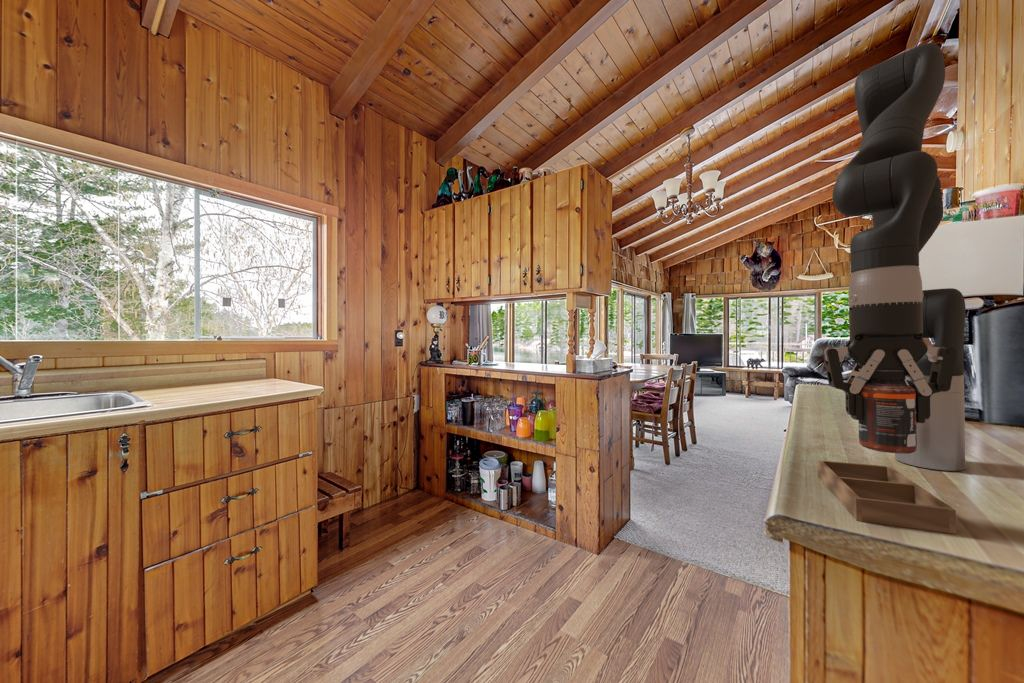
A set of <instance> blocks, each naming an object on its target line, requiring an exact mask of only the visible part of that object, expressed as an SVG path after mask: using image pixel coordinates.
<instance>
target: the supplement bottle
mask: <svg viewBox="0 0 1024 683" xmlns="http://www.w3.org/2000/svg"><path fill="white" fill-rule="evenodd" d="M905 379H906V377H905V371H904V370H874V372H873V374H872V375H871V377H870V378H869V380H867V381H866V382H865V384H864V386H863V387H862V389H861V390H860V392H859V394H861V395H862V413H863V419H862V420H857V421H858V441H859V445H860V446H862V447H863V448H865V449H869V450H872V451H877V452H879V453H880V452H881V453H889V454H891V453H892V454H895V453H902V454H908V453H913V452H915V451H916V449H917V436H916V435H917V432H916V428H917V427H916V393H915V389H914V388H913V387H911V386H909V385H907V384H906V382H905Z"/></svg>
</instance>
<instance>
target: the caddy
mask: <svg viewBox="0 0 1024 683" xmlns="http://www.w3.org/2000/svg"><path fill="white" fill-rule="evenodd" d="M817 478H818V479H819V480H820V481H821V482H822V483H823V484H824V485H825V487H826V488H827V489H828V490H829V491H830V493H832V494H833V496H834V497H835V498H836V499H837V500H838V501H839V502H840V503H841V505H842V506H843V508H845V509H846V511H848V513H849V514H850V515H851V516H852V518H854V519H855V521H858V522H865V523H871V524H881V525H887V526H895V527H902V528H907V529H908V528H911V529H915V530H926V531H934V532H937V533H939V532H940V533H947V534H954V535H956V534H957V523H956V522H957V520H956V519H957V518H956V515H957V514H956V513H957V512H956V509H955V508H953V507H951V505H948V504H947V503H945V502H944V501H943V500H941V499H940V498H938V497H937V496H935V495H933V494H932V493H931V492H929V491H927V490H926V489H924V488H923V487H922V486H920V485H918V484H917V483H916V482H914V481H912V480H911V479H909V478H908V477H907V476H905V475H904V474H902V473H900V472H899V471H897V470H896V469H894V468H893V467H892V466H888V465H878V464H866V463H865V464H863V463H854V462H842V461H831V460H821V459H820V460H819V459H817Z"/></svg>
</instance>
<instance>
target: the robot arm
mask: <svg viewBox="0 0 1024 683" xmlns="http://www.w3.org/2000/svg"><path fill="white" fill-rule="evenodd" d="M944 58H945V57H944V54H943V50H942V49H941V47H940V46H939V44H936V43H934V42H929V43H924V44H923V43H922V44H920V45H918V46H917V45H916V46H915V47H912V48H910V49H908V50H906V51H903V52H901V53H899V54H897V55H894V56H892V57H890V58H888V59H885V60H883V61H881V62H880V63H877V64H875V65H872V66H871V67H869V68H866V69H865V70H862V71H861V72H860V73H859V74H858V75H857V77H856V78H855V83H854V101H855V106H856V111H857V112H856V113H857V117H858V122H859V126H860V132H861V137H862V138H861V142H860V145H859V146H860V147H859V148H858V152H857V153H856V154H855V155H854V157H852V159H851V160H850V161H849V162H848V163H847V164H846V165H845V167H844V168H843V169H842V170H841V171H840V173H839V174H838V177H837V178H836V181H835V183H834V186H833V189H832V202H833V206H834V207H835V209H836V210H837V211H838V213H840V214H842V215H844V216H848V217H859V216H864V215H869V214H871V217H872V219H871V220H872V224H873V227H870V228H866V229H864V230H862V231H859V232H858V233H856V234H854V235H853V236H852V238H851V239H850V245H849V246H850V247H849V252H850V254H849V256H850V257H849V259H850V260H849V261H850V279H849V285H848V315H849V316H848V318H849V320H848V322H849V330H848V331H849V340H848V343H847V344H846V346H843V347H842V346H841V347H834V348H833V347H826V348H824V349H823V350H822V356H823V360H824V366H825V371H826V372H825V373H826V375H827V381H828V382H827V383H828V385H829V387H831V388H834V389H837V390H840V391H843V392H844V394H845V397H844V398H845V412H846V414H847V415H849V416H850V417H851V419H853V420H855V421H858V420H862V419H863V413H862V395H861V394H859V392H860V390H861V389H862V387H863V386H864V384H865V382H866V381H867V380H869V378H870V377H871V375H872V374H873V372H874V370H904V371H905V377H906V379H905V382H906V384H907V385H909V386H911V387H913V388H914V389H915V393H916V427H917V428H916V432H917V435H916V436H917V449H916V451H915V452H913V453H908V454H902V453H894V458H895V460H897V461H898V462H900V463H903V464H906V465H911V466H914V467H919V468H924V469H930V470H937V471H951V472H952V471H955V472H957V471H958V472H959V471H963V470H965V469H966V423H965V422H966V419H965V418H966V415H965V414H966V413H965V412H966V411H965V379H964V378H965V375H964V372H965V370H964V368H965V367H964V366H965V365H964V363H965V362H964V356H965V355H964V353H965V351H964V350H965V349H964V345H965V344H964V343H965V341H964V340H965V327H966V302H965V301H966V300H965V297H964V295H963V293H962V291H960V290H958V289H957V288H951V287H948V288H946V287H945V288H936V289H935V288H934V289H933V288H932V289H924V290H923V281H922V276H921V272H920V253H921V251H922V250H923V248H924V247H925V246H926V244H927V243H928V242H929V240H930V239H931V238H932V236H933V235H934V234H935V232H936V230H937V229H938V227H939V226H940V224H941V222H942V219H943V217H944V202H943V195H942V194H943V193H942V184H941V179H940V177H939V176H938V172H939V171H938V170H939V168H938V164H937V161H936V159H935V158H934V157H933V156H932V155H931V154H930V153H928V152H926V151H923V150H922V147H923V140H924V134H925V127H926V124H927V122H928V119H929V117H930V115H931V113H932V112H933V110H934V108H935V106H936V105H937V102H938V100H939V99H940V95H941V93H942V91H943V89H944V85H945V81H946V63H945V59H944ZM924 339H935V341H934V343H933V345H932V346H929V345H928V344H926V342H925V341H924ZM846 355H848V356H849V357H850V358H851V359H852V360H853V361H854V362H855V364H854V366H853V368H852V370H851V371H850V373H849V378H848V379H847V380H846V381H844V374H843V372H842V366H841V363H843V362H844V360H845V357H846Z"/></svg>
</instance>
